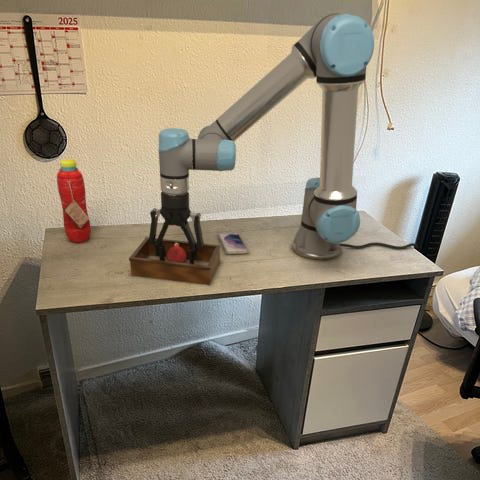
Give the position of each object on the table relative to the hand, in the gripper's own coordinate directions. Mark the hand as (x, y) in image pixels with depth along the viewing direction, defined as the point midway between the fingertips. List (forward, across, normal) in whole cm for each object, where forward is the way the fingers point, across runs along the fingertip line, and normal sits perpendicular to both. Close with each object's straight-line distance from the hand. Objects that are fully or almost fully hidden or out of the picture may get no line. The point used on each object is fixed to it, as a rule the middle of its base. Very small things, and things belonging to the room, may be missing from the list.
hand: (176, 267), depth 138 cm
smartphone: (0, +13, +20) cm, 24 cm away
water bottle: (0, -35, +10) cm, 36 cm away
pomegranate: (0, 0, 0) cm, 0 cm away
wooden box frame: (0, 0, 0) cm, 0 cm away
